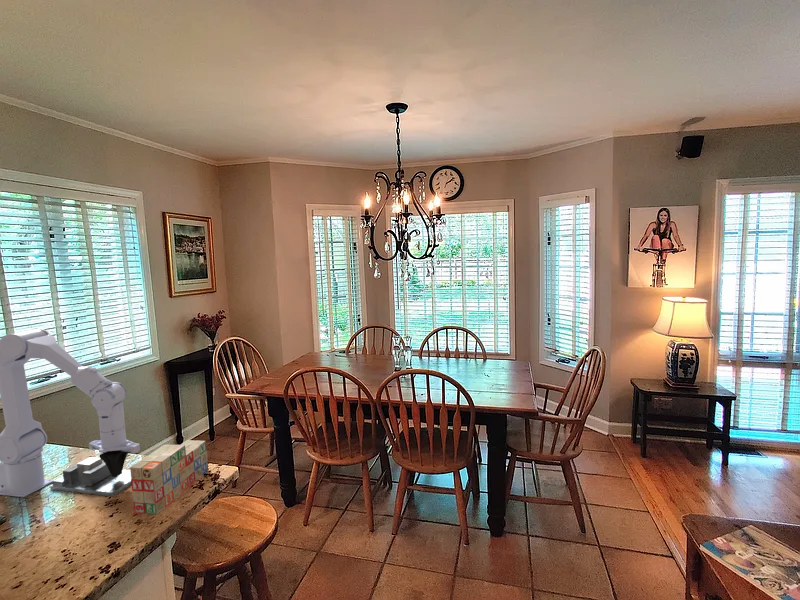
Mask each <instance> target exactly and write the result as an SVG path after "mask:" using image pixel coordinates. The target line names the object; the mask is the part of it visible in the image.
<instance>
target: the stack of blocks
mask: <svg viewBox="0 0 800 600" xmlns="http://www.w3.org/2000/svg"><path fill="white" fill-rule="evenodd" d="M208 458H209V457H208V451H207V442H206V440H199V439H198V440H197V439H196V440H192V439H187V440H185V441H183V442H182V443H181V444H165V443H164V444H163V445H161V446H160V447H158V448H157V449H155V450H154V451H152V452H151V453H150V454H149V455H146V456H145V457H143V458H142V459H141V460H139V461H137V462H135V464H132V465H131V466H130V467H129V470H130V472H131V485H130V486H131V491H132V504H133V513H134V514H142V515H143V514H144V515H155V516H156V515H158V514H159V513H160V512H161V511H163V510H164V509H165V508H167V507H168V506H169V505H170V504H171V503H173V502H174V501H175V500H176V499H177V498H178V497H179V496H181V495H182V493H184V492H185V491H186V490H187V489H188V488H189V487H190V486H192V485H191V484H192V483H193V482H194V483H195V482H196V481H197V480H199V479H198V478H201V477H203V475H204V474H206V473H207V472H208V471H209V462H208ZM205 463H206V464H205ZM207 470H208V471H207ZM206 471H207V472H206ZM205 472H206V473H205ZM200 476H201V477H200ZM194 483H193V484H194Z"/></svg>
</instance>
